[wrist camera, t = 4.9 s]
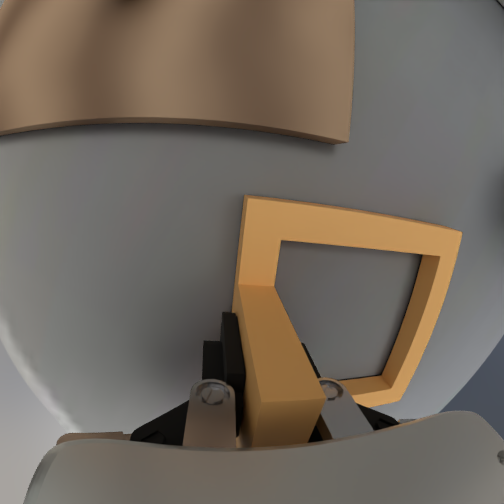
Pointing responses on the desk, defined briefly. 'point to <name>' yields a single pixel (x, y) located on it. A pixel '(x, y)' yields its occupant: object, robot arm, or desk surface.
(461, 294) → the desk surface
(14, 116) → the wooden peg board
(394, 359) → the link
